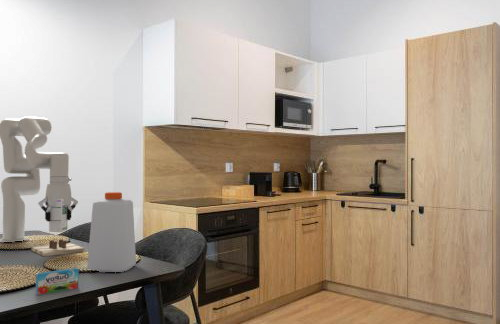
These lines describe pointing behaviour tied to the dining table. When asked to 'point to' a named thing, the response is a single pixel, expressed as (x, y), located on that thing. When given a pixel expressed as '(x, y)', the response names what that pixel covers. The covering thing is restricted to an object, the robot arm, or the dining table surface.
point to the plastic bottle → (112, 235)
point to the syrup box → (58, 217)
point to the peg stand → (57, 248)
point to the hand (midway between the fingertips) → (58, 220)
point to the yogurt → (57, 281)
